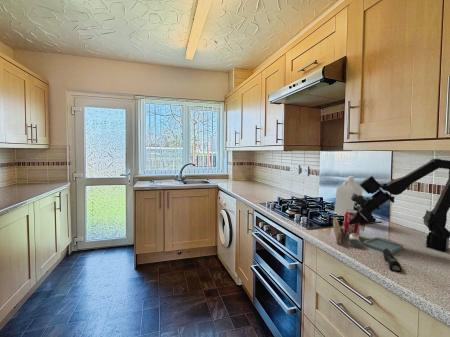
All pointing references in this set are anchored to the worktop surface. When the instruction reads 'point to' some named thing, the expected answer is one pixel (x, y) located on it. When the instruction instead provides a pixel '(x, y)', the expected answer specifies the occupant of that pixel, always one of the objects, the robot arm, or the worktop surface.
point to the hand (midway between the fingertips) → (348, 221)
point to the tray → (382, 245)
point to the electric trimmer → (392, 261)
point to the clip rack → (338, 234)
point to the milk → (346, 196)
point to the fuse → (353, 236)
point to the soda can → (347, 218)
